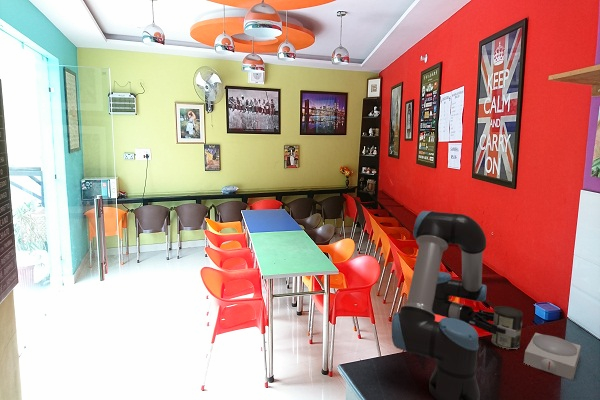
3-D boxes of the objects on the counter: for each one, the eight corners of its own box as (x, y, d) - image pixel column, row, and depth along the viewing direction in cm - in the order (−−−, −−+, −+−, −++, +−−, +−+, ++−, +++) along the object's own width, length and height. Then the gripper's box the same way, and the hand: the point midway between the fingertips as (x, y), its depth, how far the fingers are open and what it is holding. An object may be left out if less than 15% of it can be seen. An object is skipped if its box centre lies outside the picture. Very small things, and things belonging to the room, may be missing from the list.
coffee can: (514, 339, 160) (517, 307, 158) (523, 351, 150) (527, 317, 148) (488, 336, 162) (491, 304, 160) (495, 348, 152) (498, 314, 150)
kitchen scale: (523, 364, 141) (524, 349, 140) (534, 344, 156) (535, 330, 155) (572, 381, 131) (574, 365, 130) (579, 357, 146) (581, 343, 146)
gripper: (469, 313, 176) (523, 328, 161) (451, 329, 159) (510, 348, 144) (470, 297, 175) (525, 312, 160) (453, 312, 158) (512, 330, 143)
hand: (518, 329), depth 152 cm, fingers closed on coffee can, 10 cm apart
